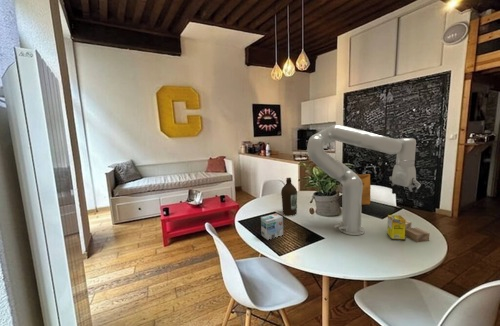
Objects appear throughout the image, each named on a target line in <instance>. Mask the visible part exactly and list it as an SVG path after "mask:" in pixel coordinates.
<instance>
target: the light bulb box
mask: <svg viewBox="0 0 500 326" xmlns="http://www.w3.org/2000/svg"><path fill="white" fill-rule="evenodd" d="M260 225H261V226H260V227H261V228H260V231H261V236H262V237H263V238H264V239H266V241H270V240H273V239H275V237H276V238H279V237H278V236H280V237H283V236H284V217H283V216H282V215H280V214H278V213H273V214H269V215H264V216H260ZM282 235H283V236H282ZM272 238H273V239H272ZM269 239H270V240H269Z"/></svg>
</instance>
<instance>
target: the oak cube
mask: <svg viewBox="0 0 500 326" xmlns="http://www.w3.org/2000/svg"><path fill="white" fill-rule="evenodd" d="M409 228H412V221H409V220H406V224H405V229H409Z"/></svg>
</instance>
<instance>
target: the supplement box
mask: <svg viewBox="0 0 500 326" xmlns="http://www.w3.org/2000/svg"><path fill="white" fill-rule="evenodd" d="M406 221H407V220H406V219H405V218H404V217H403V216H402V215H400V214H398V215H397V214H396V215H395V214H388V215H387V233H386V235H387V236H388V237H389V239H390V240H391V241H405V240H406V239H405V238H406V236H405V224H406Z"/></svg>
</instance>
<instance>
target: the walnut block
mask: <svg viewBox="0 0 500 326" xmlns="http://www.w3.org/2000/svg"><path fill="white" fill-rule="evenodd" d="M430 236H431V235H430V232H428V231H426V230H423V229H421V228H419V227H411V228H409V229H405V238H408V239H409V240H411V241H413V242H415V243H422V242H430Z"/></svg>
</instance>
